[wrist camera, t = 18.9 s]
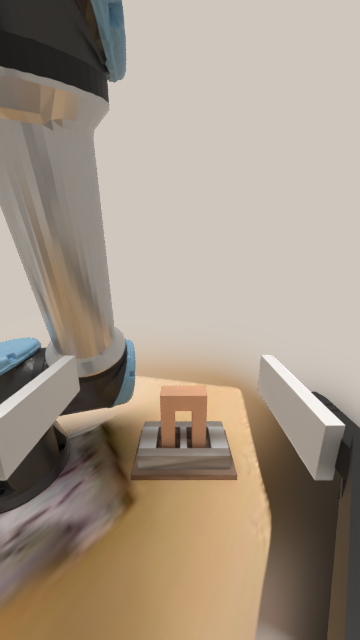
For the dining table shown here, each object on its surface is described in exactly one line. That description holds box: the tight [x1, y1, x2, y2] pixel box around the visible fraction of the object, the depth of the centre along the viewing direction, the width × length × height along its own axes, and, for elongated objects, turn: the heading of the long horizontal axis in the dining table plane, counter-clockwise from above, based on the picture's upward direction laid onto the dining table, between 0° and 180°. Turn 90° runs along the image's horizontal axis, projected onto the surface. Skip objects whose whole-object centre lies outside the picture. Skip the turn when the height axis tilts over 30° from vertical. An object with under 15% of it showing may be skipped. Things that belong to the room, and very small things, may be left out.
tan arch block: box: [160, 386, 207, 448], centre depth 38 cm, size 3×8×13 cm, turn 90°
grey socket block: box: [131, 421, 237, 480], centre depth 39 cm, size 10×18×4 cm, turn 90°
